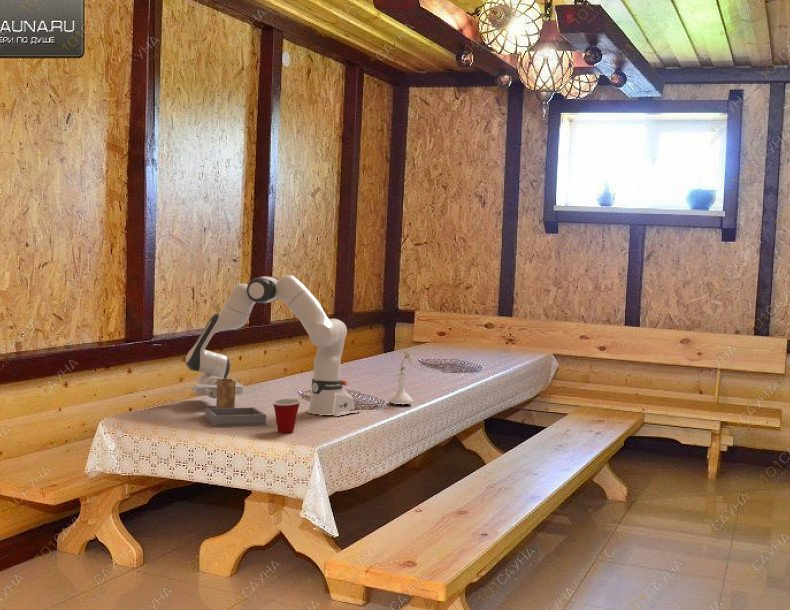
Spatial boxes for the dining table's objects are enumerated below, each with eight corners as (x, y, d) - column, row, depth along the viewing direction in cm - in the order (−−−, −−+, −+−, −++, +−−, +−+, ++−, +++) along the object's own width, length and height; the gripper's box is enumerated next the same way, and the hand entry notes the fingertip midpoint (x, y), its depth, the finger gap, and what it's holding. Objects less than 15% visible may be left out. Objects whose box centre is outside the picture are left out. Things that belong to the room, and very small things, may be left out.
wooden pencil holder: (229, 412, 423) (231, 378, 422) (234, 416, 417) (235, 381, 415) (216, 413, 421) (217, 378, 420) (220, 416, 414) (221, 381, 413)
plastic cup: (267, 429, 394) (268, 398, 393) (295, 428, 398) (296, 397, 397) (274, 435, 384) (275, 403, 383) (302, 434, 388) (304, 402, 387)
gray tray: (254, 417, 416) (254, 407, 416) (265, 425, 402) (266, 414, 401) (204, 418, 408) (205, 408, 408) (214, 426, 394) (215, 416, 393)
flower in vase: (410, 407, 456) (413, 351, 454) (384, 405, 458) (387, 349, 456) (415, 403, 469) (418, 348, 467) (390, 400, 471) (393, 346, 469)
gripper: (189, 380, 431) (197, 385, 419) (238, 379, 439) (247, 384, 427) (189, 395, 432) (197, 401, 419) (237, 394, 440) (246, 399, 427)
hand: (222, 392), depth 423 cm, fingers open, 8 cm apart
